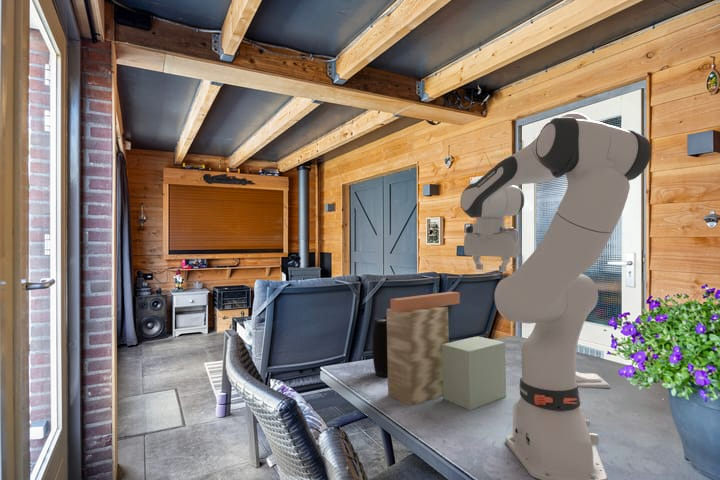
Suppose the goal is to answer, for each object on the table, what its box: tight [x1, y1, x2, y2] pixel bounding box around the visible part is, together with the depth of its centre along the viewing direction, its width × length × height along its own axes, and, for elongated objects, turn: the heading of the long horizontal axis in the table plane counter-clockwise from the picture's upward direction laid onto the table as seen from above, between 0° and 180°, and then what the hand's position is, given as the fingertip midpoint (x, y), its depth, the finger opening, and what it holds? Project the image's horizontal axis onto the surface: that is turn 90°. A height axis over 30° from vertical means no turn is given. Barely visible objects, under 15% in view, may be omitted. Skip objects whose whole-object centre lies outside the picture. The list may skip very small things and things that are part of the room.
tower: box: [386, 306, 450, 406], centre depth 123 cm, size 16×10×26 cm, turn 125°
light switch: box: [576, 371, 612, 389], centre depth 131 cm, size 11×4×13 cm
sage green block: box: [442, 335, 507, 411], centre depth 119 cm, size 16×10×16 cm, turn 125°
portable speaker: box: [371, 316, 388, 378], centre depth 142 cm, size 9×9×20 cm
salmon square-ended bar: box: [390, 291, 461, 313], centre depth 125 cm, size 26×4×4 cm, turn 125°
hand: (490, 270), depth 131 cm, fingers open, 8 cm apart
